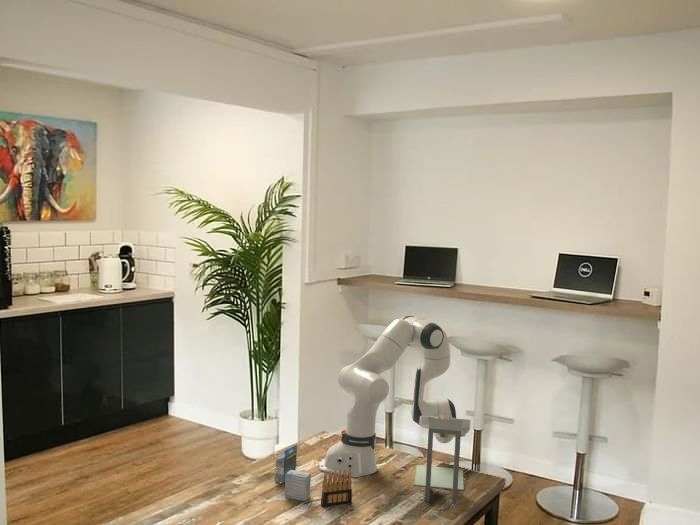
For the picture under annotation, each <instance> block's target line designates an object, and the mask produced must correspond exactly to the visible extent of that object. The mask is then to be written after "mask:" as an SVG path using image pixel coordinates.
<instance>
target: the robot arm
mask: <svg viewBox="0 0 700 525" xmlns="http://www.w3.org/2000/svg"><path fill="white" fill-rule="evenodd" d="M409 344H412V345H413V346H416V347H419V348H422V352H423V353H422V354H423V360H422V363H421V364H420V365H419V366H418V367H417V368H416V372H415V380H414V392H413V401H412V406H411V412H410V413H411V418H412V421H413V422H414V423H415V424H417V425H419V426H420V427H421V428H422V429H428V430H429V421H430V418H435V419H441V414H449V420H458V421H461V437H466V436H467V434H468V433H469V432H470V430H471V419H466V418H457V412H456V411H457V410H456V406H455V404H454V403H453V402H452V400H451V399H449V398H439V399H438V398H437V399H432V400H431V399H429V400H424V394H425V393H424V392H425V386H426V384H427V383H428V382H430V381H432V380H434V379H436V378H439V377H440V376H442V375H443V374H445V373H446V372H447V371H448V370H449V368H450V366H451V351H450V344H449V340H448V337H447V333H446V331H444V330H443V328H441V326H439V325H438V324H437V323H435V322H432V321H430V320H429V321H428V320H426V319H424V318H421V317H416V316H413V315H404V316H402V317H401V318H396V319H395V320H393V321H392V322H391V323H390V324H389V325H388V326H387V327H386V328H385V329H384V330H383V332H382V333H381V334H380V335H379V337H378V338H377V339H376V341H375V342H374V344H372V346H371V347H370V349H369V350H368V351H367V352H366V353H365V354H363V355H362V356H361V357H360V358H358V360H356V361H354V362H353V363H351V364H349V365H346V366H344V367H343V368H341V370H340V371H339V373H338V376H337V382H338V384H339V386H340V388H342V389H343V390H344V391H345V392H346V393H348V394H350V395H352V396H354V403H353V405H352V407H351V408H350V409H349V410H348V411H347V415H346V429H345V428H343V429H341V433H340V440H339V441H338V442H336V443H335V444H334V445H332V446H330V447H329V448H328V449H327V452H326V454H325V457H323V459H321V460H320V462H319V464H318V465H319V466H318V469H319V470H320V472H324V473H325V471H326V473H327V474H329V473H330V471H331V472H332V474H334V472H335V470H336V472H337V475H339V471H340V470H341V472H342V476H343V473H344V470H345V469H346V474H347V477H348V471H349V469H350V470H351V478H360V477H362V476H363V477H364V476H369V475H372V474H375V473H376V472H377V471H378V466H377V461H376V452H375V449H376V445H377V442H376V441H377V437H376V436H377V434H376V418H377V412H378V409H379V407H380V404H381V403H383V401H385V399H387V397H388V394H389V391H390V386H389V382H387V380H386V379H385V378H384V377H382V376H381V374H382V373H384V372H386V371H390V370H391V369H392V368H393V367H394V366H395V364H396V363H397V362H398V360H399V359H400V357H401V356H402V354H404V352H405V350H406V349H407V348H408V345H409ZM455 436H456V435H452V434H448V438H445V437H440V433H433V437H434V438H435V439H436V441H438V443H441V444H448V443H450V442H452V441H453V439H454V438H455Z"/></svg>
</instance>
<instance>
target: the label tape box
mask: <svg viewBox="0 0 700 525" xmlns="http://www.w3.org/2000/svg"><path fill="white" fill-rule="evenodd" d="M297 451H298V444H295V445H292V446H290V447H288V448H287V449H285V450H283V452H284V454H283V455H282V456H280V457H279V458H277V459H276V460H275V470H274V472H275V473H274V481H275V482H276V481H277V482H276V483H279V482H281V483H280V484H285V483H284V482H285V474H286V473H287V472H289V471H290V470H295V471H297V458H298V457H297V454H298V452H297Z"/></svg>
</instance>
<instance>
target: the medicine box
mask: <svg viewBox="0 0 700 525" xmlns="http://www.w3.org/2000/svg"><path fill="white" fill-rule="evenodd" d="M311 476H312V474H311V472H306V471H301V470H296V471H295V470H290V471H289V472H287V473H286V474H285V483H284V484H285V485H284V498H285V497H286V499H290V498H291V499H292V500H295V499H296V500H297V501H302V502H307V500H308V499H309V498H311V484H312V483H311V482H312V481H311V479H312V478H311ZM291 499H290V500H291Z"/></svg>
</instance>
